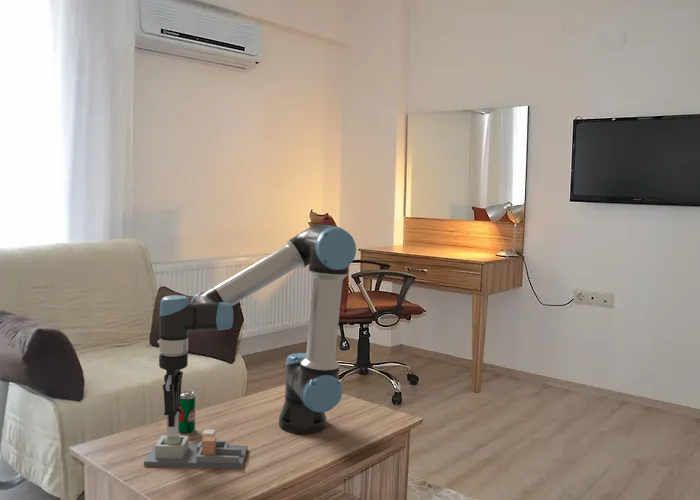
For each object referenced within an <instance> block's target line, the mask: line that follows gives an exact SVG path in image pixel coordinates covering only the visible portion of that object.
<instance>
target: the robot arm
mask: <svg viewBox="0 0 700 500" xmlns="http://www.w3.org/2000/svg"><path fill="white" fill-rule="evenodd" d="M356 253H357V245H356V241H355V240H354V238H353V236H352V235H351V233H350V232H348V231H347V230H345V229H344V228H341V227H339V226H335V225H334V226H333V225H329V224H325V223H318V224H314V225H312V226H310V227H308V228H307V229H305V230H303V231H302V232H300V233H298V234H296V235H295V236H293V237H292V238H290V239H288V240H287V241H286V244H285V246H282V247H281V248H279V249H277V250H276V251H274V252H273V253H271V254H269V255H267V256H265V257H264V258H262V259H260V260H259V261H256V262H255V263H254V264H251V265H250V266H248V267H247V268H245V269H242V270H241V271H240V272H238V273H236V274H235V275H233V276H231V277H229V278H228V279H226V280H224V281H223V282H221V283H219V284H218V285H216V286H214V287H213V288H210V289H208V290H207V291H202V292H198V293H196V294H195V295H194V296H193V297H192V298H191V301H189V300H190V299H189V297H188V296H185V295H176V294H174V295H167V296H164V297H162V298H161V300H160V301H159V302H160V304H159V305H160V306H159V340H157V344H158V345H159V346H158V347H159V349H158V350H159V354H158V355H159V356H158V367H159V368H160V369H161V370H165V371H166V372H165V374H164V377H163V378H164V379H163V381H164V383H163V385H162V389H163V401H164V405H163V406H164V412H163V415H164V416H166V435H167V437H176V438H177V436H178V435H179V431H178V412H181V409H179V407H180V399H181V392H182V385H183V384H182V382H183V381H182V380H183V374H184V373H183V372H184V371H183V370H184V369H185V368H187V367H188V363H189V360H188V359H189V356H188V351H189V332H196V331H197V332H199V331H201V332H202V331H223V330H230V329H232V327H233V324H234V307H233V306H235V305H236V304H238V303H239V302H242V301H243V300H245V299H247V298H248V297H249V296H252V295H253V294H255V293H256V292H259V291H260V290H262V289H263V288H265V287H267V286H268V285H270V284H272V283H274V282H275V281H277V280H278V279H280V278H282V277H283V276H285V275H287V274H289V273H291V272H293V271H294V270H295V269H298V268H303V269H304V268H306V267H307V266H308V271H309V273H310V274H311V275H312V277H313V279H312V289H311V290H312V291H311V301H310V310H309V320H308V321H309V323H308V332H307V342H306V352H296V353H291V354H289V355H287V357H286V362H285V390H284V391H285V392H284V393H285V394H284V396H285V397H284V403H283V405H282V408H281V410H280V414H279V417H278V426H279V427H280V428H281V430H283V431H285V432H289V433H294V434H313V433H317V432H320V431H323V430H324V429H325V428H326V427H327V416H326V415H327V414H326V413H327V412H329V411H331V410H332V409H334V408H335V407H336V406H337V405H338V404H339V402H340V401H341V399H342V396H343V386H342V383H341V382H340V379H339V373H340V363H339V362H338V361H337V360H336V352H337V351H336V350H337V342H338V341H337V339H338V332H339V330H338V329H339V321H340V320H339V319H340V313H341V312H340V309H341V302H342V301H341V299H342V289H343V281H344V279H345V278H346V277H347V276H349V271H350V265H351V264H352V262H354V259H355V258H356ZM181 370H182V371H181Z"/></svg>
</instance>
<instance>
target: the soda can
mask: <svg viewBox="0 0 700 500" xmlns="http://www.w3.org/2000/svg"><path fill="white" fill-rule="evenodd" d="M196 401H197V399H196V395H195V391H191V390H187V391H186V390H185V391H181V399H180V407H179V409H181V412H177V413H178V433H180V434H182V435H189V434H192V433H194V432H195V430H196Z"/></svg>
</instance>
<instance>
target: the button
mask: <svg viewBox="0 0 700 500" xmlns="http://www.w3.org/2000/svg"><path fill="white" fill-rule="evenodd" d="M165 435H166V436H165V437H164V445H180V444H181V436H182V435H180V434H178V436H177V438H176V437H167V434H165Z"/></svg>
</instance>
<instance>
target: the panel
mask: <svg viewBox="0 0 700 500" xmlns="http://www.w3.org/2000/svg"><path fill="white" fill-rule="evenodd" d="M166 435H167V434H165V435H163V434H162V435H161V437H160V438H159V439H158V441H157V442H156V443H155V444H154V446H152V449H151V450H150V452H149V453H148V455H147V456H146V458H145V460H144V461H143V466H144V467H166V468H167V467H172V468H173V467H174V468H213V469H214V468H215V469H243V465H244V463H245V460H246V455H247V452H248V445H241V444H239V445H238V444H237V445H236V444H233V445H232V444H230V443H229V441H227V440H223V439H222V440H221V439H219V440H218V439H216V455H203V447H202V440H201V441H199V442H198V443H197V444H196V443H193V444H192V443H190V441H189V440H190V439H189V438H190V437H189V435H180V436H181V444H180V445H164V437H165V436H166Z"/></svg>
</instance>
